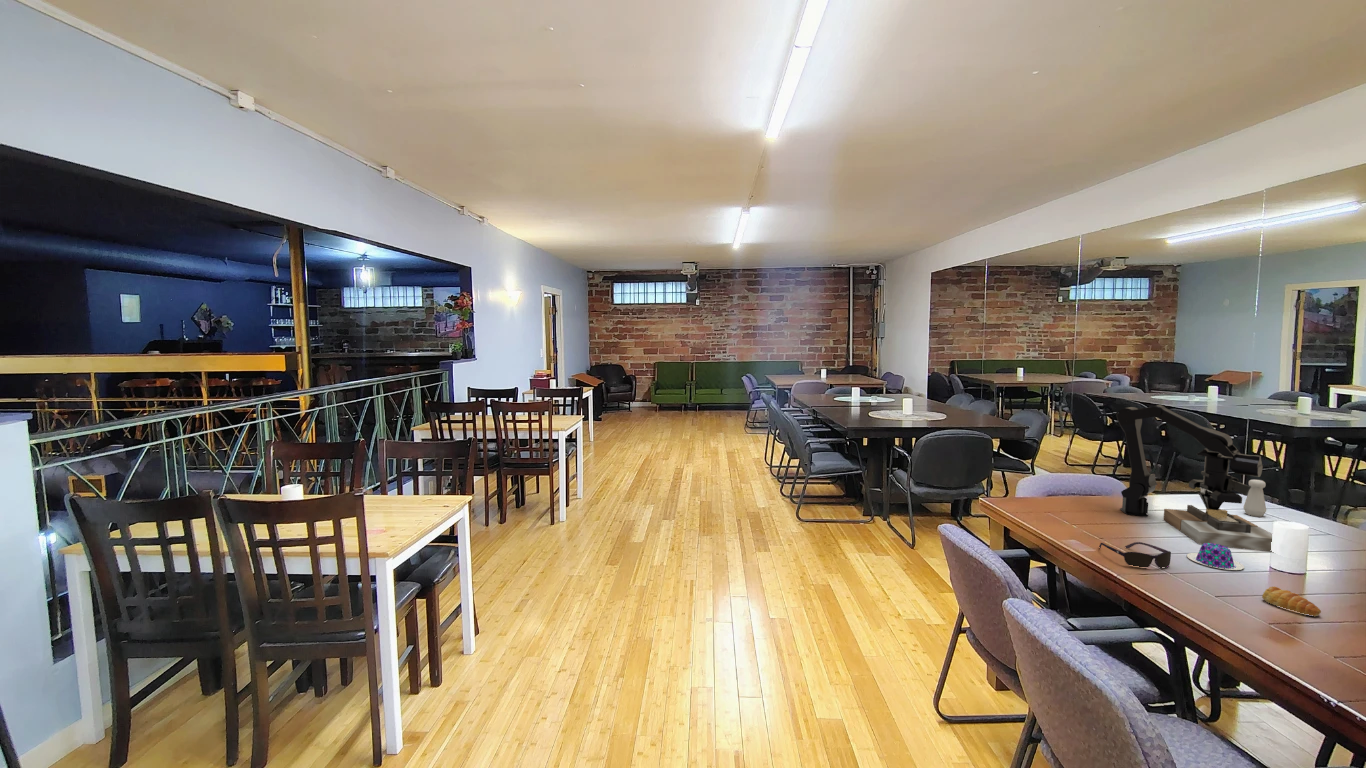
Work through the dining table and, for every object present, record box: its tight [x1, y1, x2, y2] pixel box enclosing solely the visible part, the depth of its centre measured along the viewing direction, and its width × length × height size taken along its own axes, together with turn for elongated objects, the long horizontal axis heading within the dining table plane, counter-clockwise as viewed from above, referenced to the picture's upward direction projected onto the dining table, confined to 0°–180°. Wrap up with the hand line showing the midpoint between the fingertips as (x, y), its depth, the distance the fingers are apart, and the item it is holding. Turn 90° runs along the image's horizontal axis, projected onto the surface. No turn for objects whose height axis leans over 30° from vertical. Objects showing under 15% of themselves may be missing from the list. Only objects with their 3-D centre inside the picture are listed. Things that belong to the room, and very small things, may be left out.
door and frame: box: [1163, 504, 1273, 552], centre depth 179 cm, size 20×24×6 cm
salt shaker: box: [1243, 479, 1267, 518], centre depth 197 cm, size 6×6×13 cm
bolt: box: [1205, 507, 1239, 523], centre depth 177 cm, size 5×8×4 cm, turn 159°
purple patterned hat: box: [1186, 543, 1245, 571], centre depth 157 cm, size 12×12×5 cm
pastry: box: [1261, 586, 1322, 617], centre depth 131 cm, size 9×7×4 cm
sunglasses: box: [1098, 541, 1172, 569], centre depth 161 cm, size 14×16×5 cm
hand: (1212, 515), depth 183 cm, fingers closed
